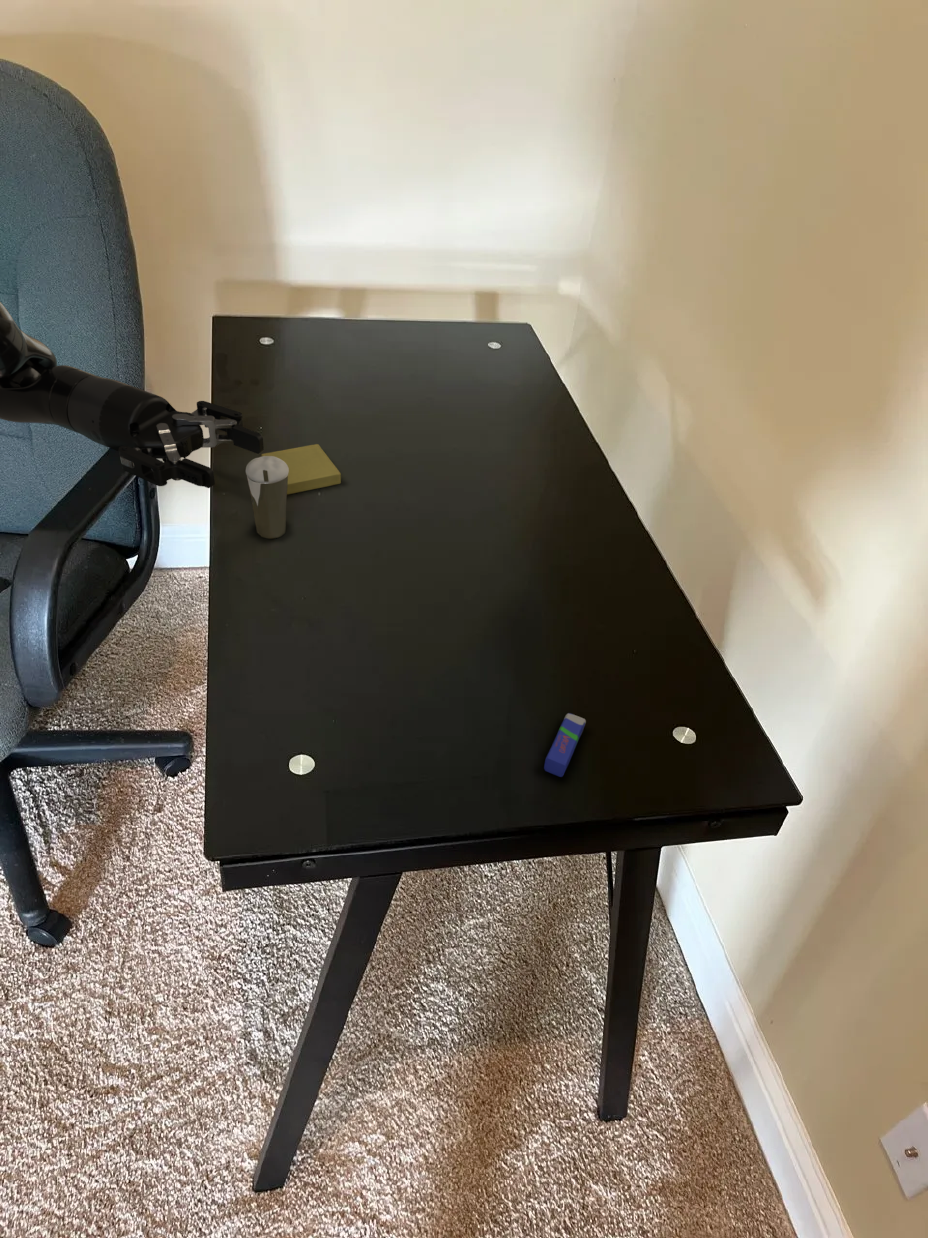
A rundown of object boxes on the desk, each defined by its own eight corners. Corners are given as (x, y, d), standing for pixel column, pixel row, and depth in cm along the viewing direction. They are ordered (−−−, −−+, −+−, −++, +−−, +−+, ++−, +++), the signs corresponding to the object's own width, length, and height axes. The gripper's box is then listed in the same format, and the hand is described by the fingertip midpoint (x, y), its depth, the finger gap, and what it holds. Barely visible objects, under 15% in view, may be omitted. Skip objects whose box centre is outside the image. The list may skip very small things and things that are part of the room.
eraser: (583, 733, 77) (587, 719, 75) (562, 779, 72) (566, 765, 71) (563, 725, 77) (567, 711, 76) (541, 771, 73) (545, 756, 71)
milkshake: (249, 546, 92) (242, 469, 85) (252, 518, 96) (245, 443, 89) (290, 546, 93) (287, 470, 86) (292, 519, 97) (288, 443, 90)
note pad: (282, 495, 100) (282, 485, 99) (261, 464, 105) (261, 453, 104) (341, 483, 103) (341, 473, 102) (318, 453, 108) (318, 443, 107)
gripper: (66, 412, 87) (190, 460, 83) (160, 364, 97) (275, 404, 93) (81, 473, 92) (198, 521, 88) (169, 421, 102) (278, 462, 98)
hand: (237, 461), depth 90 cm, fingers open, 8 cm apart
